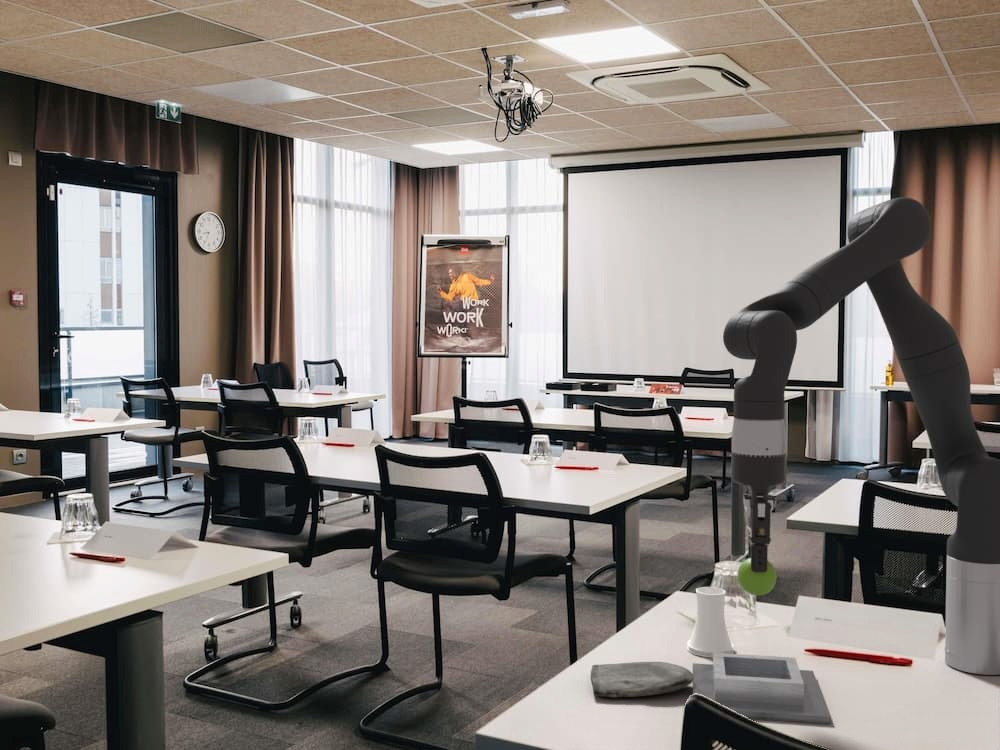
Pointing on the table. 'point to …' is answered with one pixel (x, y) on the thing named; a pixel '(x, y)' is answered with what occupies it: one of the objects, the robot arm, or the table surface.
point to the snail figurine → (756, 576)
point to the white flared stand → (710, 624)
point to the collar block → (762, 687)
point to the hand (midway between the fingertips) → (757, 565)
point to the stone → (638, 679)
